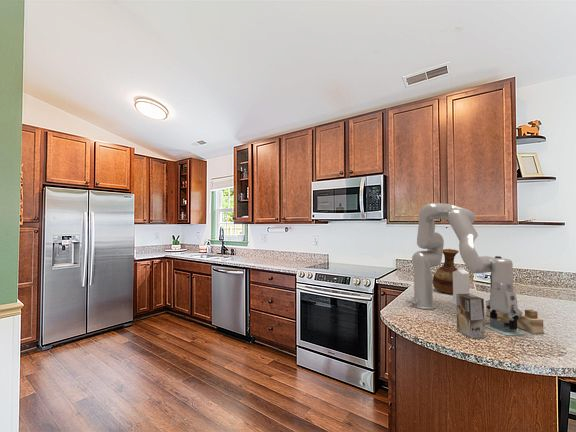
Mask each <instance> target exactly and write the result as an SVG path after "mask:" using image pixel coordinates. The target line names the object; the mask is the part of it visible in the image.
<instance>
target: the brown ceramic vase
mask: <svg viewBox="0 0 576 432" xmlns="http://www.w3.org/2000/svg"><path fill="white" fill-rule="evenodd" d="M458 253H460V250H457V249H451V248H446V249H444V248H443V254H442V255H444V262H443V264H442V266H440V267H438V269H436V271H435V272H434V274H433V276H432V283H433V289H435V290H437V291H440V292H442V293H446V294H452V295H453V272H454V271H456V270H457V268H458V267H456V266H455V257H456V255H457V254H458Z"/></svg>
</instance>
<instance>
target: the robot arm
mask: <svg viewBox="0 0 576 432" xmlns="http://www.w3.org/2000/svg"><path fill="white" fill-rule="evenodd" d="M435 219H436V220H437V219H440V220H444V219H445V220H448V223H449V225H450V226H451V228H452V230H453V232H454V234H455V235H456V237H457V239H458V242H459V243H458V247H459V250H458V251H459V255H460V256H461V257H460V258H461V260H462V262H463V263H464V265H465V266H466V267H467V269H468V270H469V271H470V272H471V273H474V274H485V273H491V272H492V288H491V287H490V295H489V299H487V300H484V303H485V306H486V305H487V308H488V310H489V312H490V318H494V317H497V313H496V311H498V312H501V313H504V314H508V316H509V318H510V319H511V320H509V329H511V330H515V329H516V330H518V328H517V320H519V319H520V318H521V316H522V314H523V313H524V312H523V311H522V310H521V309H519V306H518V305H519V304H518V299H517V295H516V292H515V291H514V290H515V286H514V270H513V269H514V268H513V266H514V265H513V264H514V263H513V261H512V260H511V259H509V258H503V257H501V258H495V257H492V256H488V255H487V256H486V255H484V256H479V254H478V252H477V250H476V248H475V241H476V239H477V237H478V236H479V234H478V232H477V230H476V229H475V227H474V225H473V223H474V222H475V219H476V215H475V213H474V212H473V211H472V210H470V209H468V208H464V207H461V206H457V205H453V204H451V203H441V202H440V203H439V202H438V203H437V202H431V203H428V204H424V205H423V206H422V207H421V208H420V210H419V213H418V228H417V236H416V245H417V246H418V248H419V249H423V250H419V251H416V252H414V254H413V255H412V257H411V258H412V259H411V262H412V268H413V278H414V279H413V282H414V283H413V286H414V287H413V288H414V289H413V290H414V291H413V295H414V297H412V298H411V299H406V301H405V302H406V303H407V304H410V305H411V306H412V307H414V308H416V309H417V308H418V309H422V310H435V309H437V305H436V304H435V303H434V295H433V289H434V286H433V272H432V270H431V267H432V268H433V267H434V268H435V267H438V266H439V265H441V263H442V261H443V255H444V254H443V249H444V245H445V241H444V237H443V235H441V234H440V233H439V232H436V223H435ZM512 315H513V316H512ZM490 318H489V319H490Z"/></svg>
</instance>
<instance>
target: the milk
mask: <svg viewBox="0 0 576 432" xmlns="http://www.w3.org/2000/svg"><path fill="white" fill-rule="evenodd" d="M456 268H457V270H456V271H454V272H453V294H452V296H453V297H452V300H453V301H452V302H453V303H452V304H453V305H455V306H457V305H456V294H470V273H469V271H468V270H465V266H458V267H456Z"/></svg>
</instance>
